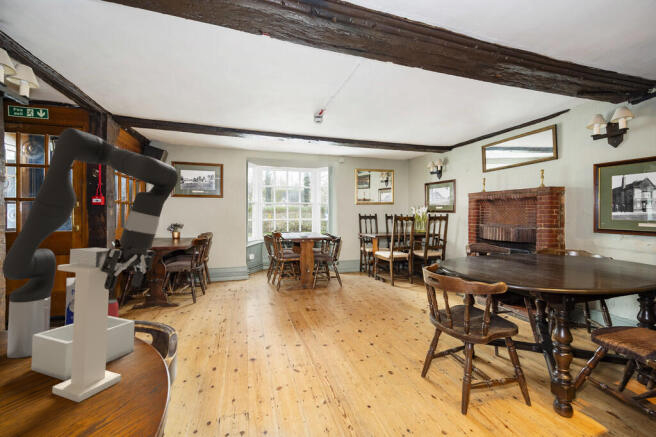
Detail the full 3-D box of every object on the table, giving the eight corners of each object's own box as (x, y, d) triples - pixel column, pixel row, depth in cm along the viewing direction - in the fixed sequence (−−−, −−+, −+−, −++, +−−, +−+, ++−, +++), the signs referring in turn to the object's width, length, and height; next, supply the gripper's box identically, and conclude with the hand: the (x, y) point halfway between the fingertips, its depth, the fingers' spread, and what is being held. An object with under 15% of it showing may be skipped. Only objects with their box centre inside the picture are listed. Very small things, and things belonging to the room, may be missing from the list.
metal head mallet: (69, 264, 74) (70, 249, 74) (130, 257, 89) (130, 245, 89) (95, 267, 70) (96, 251, 70) (153, 260, 86) (154, 247, 86)
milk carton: (87, 324, 116) (89, 275, 116) (89, 329, 111) (91, 278, 111) (64, 328, 111) (66, 277, 111) (64, 333, 106) (67, 280, 106)
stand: (49, 392, 71) (55, 265, 72) (93, 372, 81) (98, 260, 81) (81, 403, 67) (87, 269, 68) (123, 381, 77) (128, 264, 77)
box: (31, 369, 81) (32, 334, 81) (102, 343, 99) (103, 314, 99) (64, 380, 76) (66, 343, 76) (133, 351, 94) (134, 321, 94)
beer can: (105, 336, 104) (106, 304, 105) (91, 334, 106) (92, 302, 106) (121, 330, 111) (123, 299, 111) (108, 328, 112) (109, 298, 112)
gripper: (147, 229, 86) (131, 281, 84) (106, 223, 72) (85, 286, 70) (169, 234, 85) (153, 288, 83) (132, 230, 71) (111, 294, 69)
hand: (122, 287), depth 77 cm, fingers open, 8 cm apart
